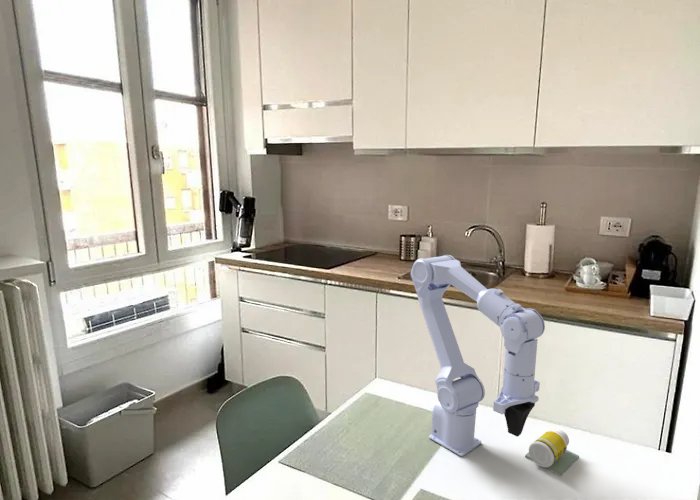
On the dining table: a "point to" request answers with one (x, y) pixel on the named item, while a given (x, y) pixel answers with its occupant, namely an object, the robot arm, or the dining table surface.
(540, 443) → the supplement bottle
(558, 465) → the mat
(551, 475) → the dining table surface
